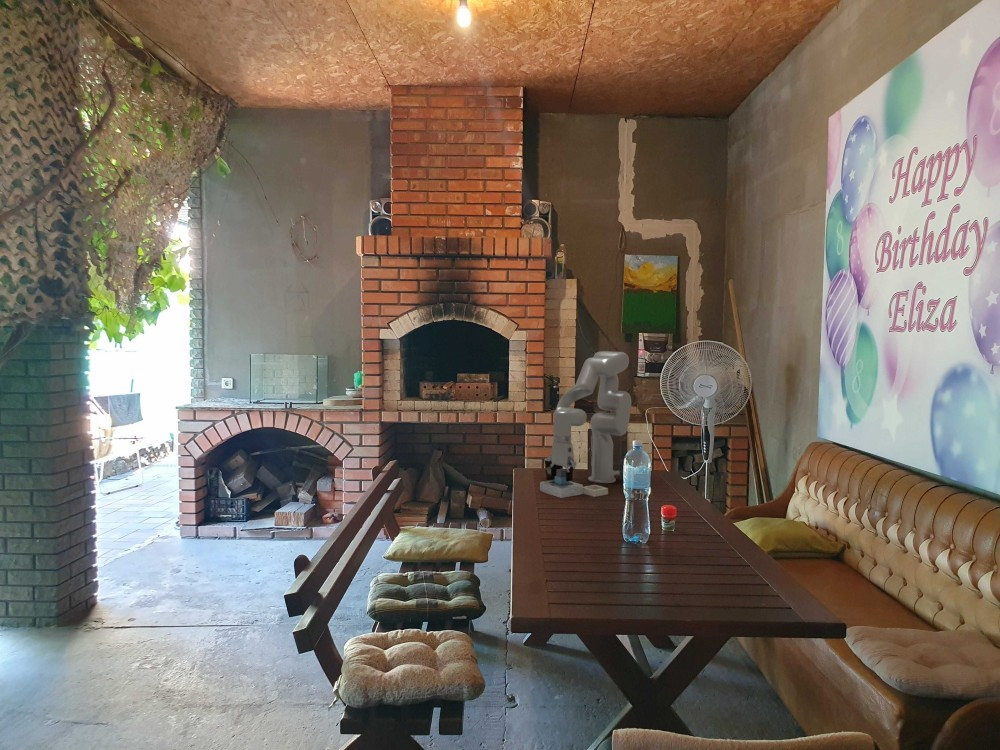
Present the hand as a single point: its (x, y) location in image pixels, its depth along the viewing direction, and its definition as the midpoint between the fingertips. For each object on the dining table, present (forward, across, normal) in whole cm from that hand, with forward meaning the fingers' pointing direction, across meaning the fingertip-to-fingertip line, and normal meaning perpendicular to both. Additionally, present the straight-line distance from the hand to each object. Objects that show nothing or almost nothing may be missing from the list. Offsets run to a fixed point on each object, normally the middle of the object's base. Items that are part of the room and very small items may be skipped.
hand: (561, 478), depth 273 cm
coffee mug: (+6, +17, -11) cm, 21 cm away
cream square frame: (+6, -9, -11) cm, 15 cm away
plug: (+6, 0, 0) cm, 6 cm away
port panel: (+6, 0, 0) cm, 6 cm away
